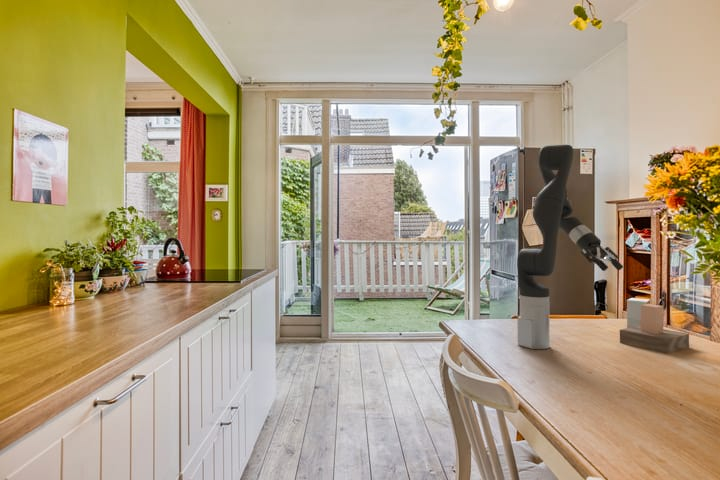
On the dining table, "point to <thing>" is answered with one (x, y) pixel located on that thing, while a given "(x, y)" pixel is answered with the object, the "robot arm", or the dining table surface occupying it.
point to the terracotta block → (652, 318)
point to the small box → (635, 311)
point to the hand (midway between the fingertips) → (613, 269)
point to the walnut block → (655, 340)
